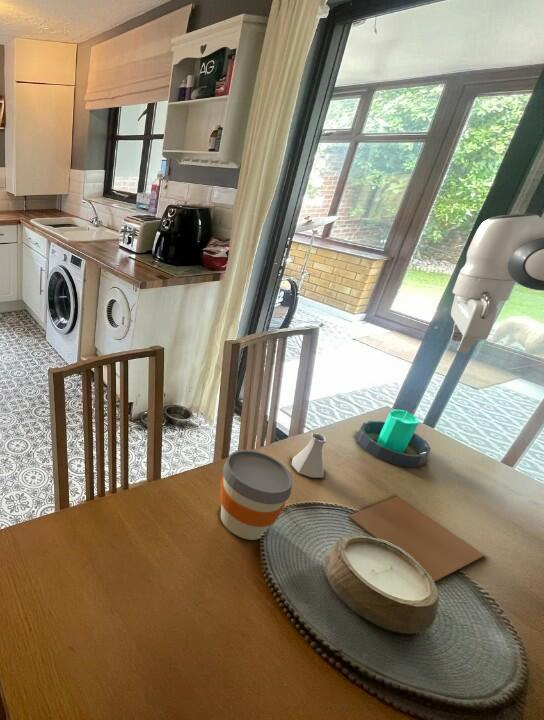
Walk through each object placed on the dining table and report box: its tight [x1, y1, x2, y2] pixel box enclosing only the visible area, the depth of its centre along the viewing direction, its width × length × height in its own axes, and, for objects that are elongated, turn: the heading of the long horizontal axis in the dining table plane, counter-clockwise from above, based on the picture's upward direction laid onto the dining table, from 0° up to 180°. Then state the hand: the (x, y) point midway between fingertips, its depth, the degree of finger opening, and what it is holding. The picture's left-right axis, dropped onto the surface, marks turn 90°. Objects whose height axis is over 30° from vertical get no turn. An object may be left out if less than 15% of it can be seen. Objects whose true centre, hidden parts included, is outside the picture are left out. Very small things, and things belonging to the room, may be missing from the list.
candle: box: [376, 409, 420, 453], centre depth 108 cm, size 6×6×12 cm
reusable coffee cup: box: [219, 449, 294, 541], centre depth 86 cm, size 13×13×15 cm
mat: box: [348, 496, 485, 583], centre depth 86 cm, size 16×16×1 cm
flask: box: [291, 432, 327, 479], centre depth 102 cm, size 7×7×10 cm
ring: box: [356, 420, 432, 468], centre depth 110 cm, size 14×14×4 cm
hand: (458, 346), depth 96 cm, fingers open, 8 cm apart
